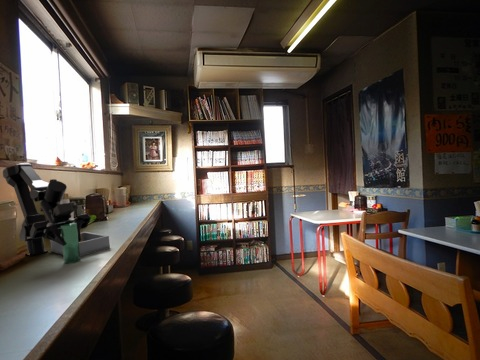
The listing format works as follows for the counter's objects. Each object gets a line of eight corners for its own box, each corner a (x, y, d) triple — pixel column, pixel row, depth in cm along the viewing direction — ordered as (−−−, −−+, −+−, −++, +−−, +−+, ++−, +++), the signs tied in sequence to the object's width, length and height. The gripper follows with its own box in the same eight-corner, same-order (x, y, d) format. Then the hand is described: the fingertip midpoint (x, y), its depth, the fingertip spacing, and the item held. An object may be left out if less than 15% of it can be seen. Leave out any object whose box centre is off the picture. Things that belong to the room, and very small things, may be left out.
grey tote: (51, 251, 120) (50, 239, 120) (86, 242, 131) (85, 231, 131) (72, 258, 106) (71, 244, 106) (110, 248, 117) (108, 235, 117)
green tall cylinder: (61, 262, 102) (57, 225, 101) (76, 257, 106) (73, 222, 105) (67, 264, 99) (63, 226, 98) (83, 259, 103) (79, 223, 102)
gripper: (29, 199, 96) (48, 234, 90) (85, 192, 111) (104, 221, 106) (22, 222, 101) (40, 256, 95) (77, 212, 116) (95, 241, 110)
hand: (72, 242), depth 101 cm, fingers closed on green tall cylinder, 5 cm apart
